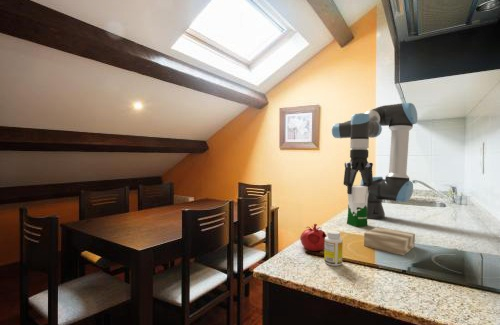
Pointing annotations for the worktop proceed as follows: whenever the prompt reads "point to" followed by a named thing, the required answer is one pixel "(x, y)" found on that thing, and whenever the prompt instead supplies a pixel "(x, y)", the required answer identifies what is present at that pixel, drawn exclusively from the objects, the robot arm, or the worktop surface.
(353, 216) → the milk carton
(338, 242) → the supplement bottle
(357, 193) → the white cup
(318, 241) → the pomegranate
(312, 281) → the worktop surface
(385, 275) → the worktop surface
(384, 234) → the wooden base
